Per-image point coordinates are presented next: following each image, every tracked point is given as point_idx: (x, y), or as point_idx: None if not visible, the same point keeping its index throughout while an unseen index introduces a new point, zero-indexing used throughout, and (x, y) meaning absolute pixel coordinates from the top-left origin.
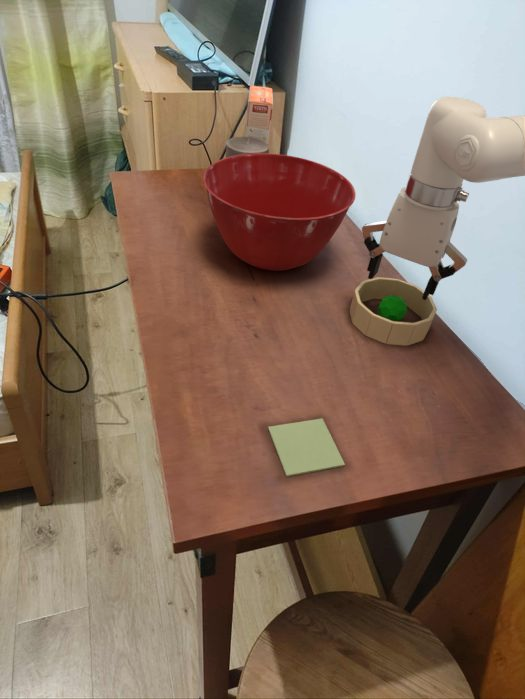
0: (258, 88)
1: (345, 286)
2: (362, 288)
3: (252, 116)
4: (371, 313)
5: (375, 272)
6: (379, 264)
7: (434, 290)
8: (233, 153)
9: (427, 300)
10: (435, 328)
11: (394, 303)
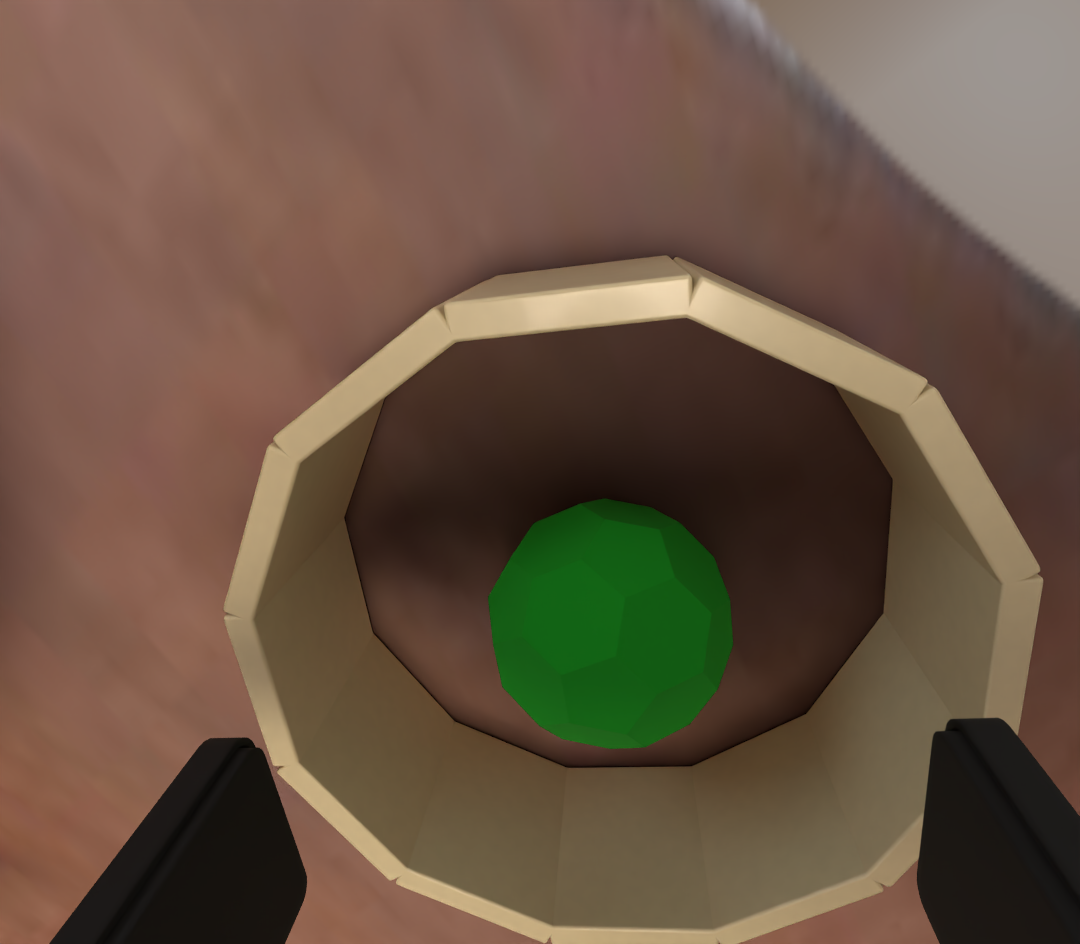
0: None
1: (142, 390)
2: (285, 624)
3: None
4: (538, 934)
5: (263, 873)
6: (193, 867)
7: None
8: None
9: (886, 409)
10: (972, 413)
11: (624, 739)
